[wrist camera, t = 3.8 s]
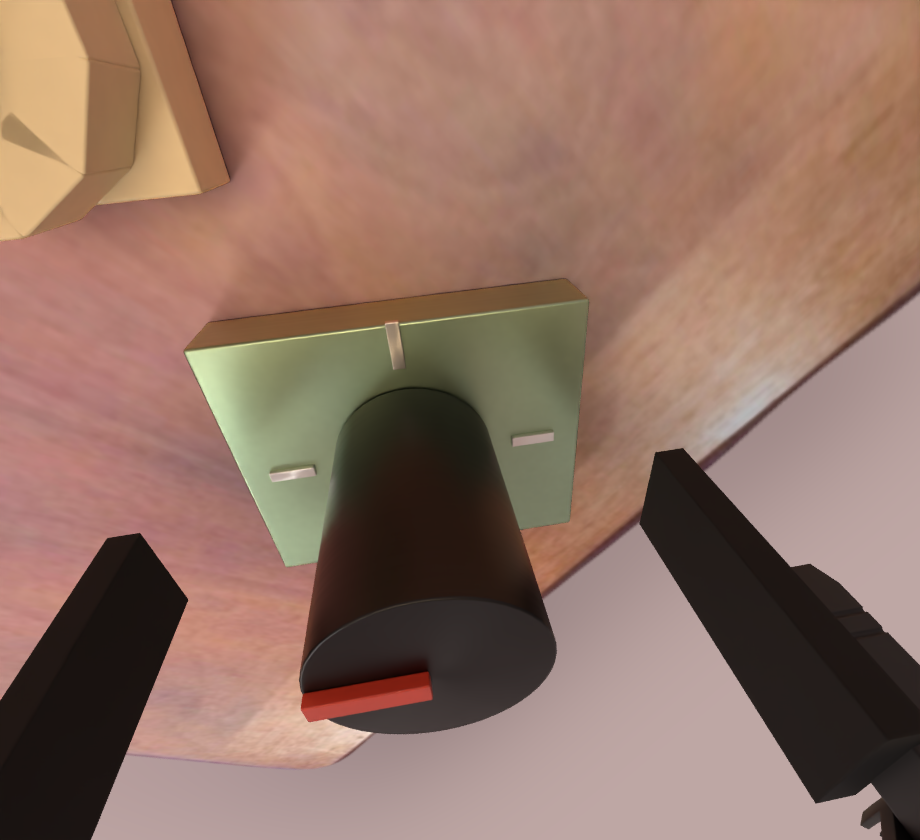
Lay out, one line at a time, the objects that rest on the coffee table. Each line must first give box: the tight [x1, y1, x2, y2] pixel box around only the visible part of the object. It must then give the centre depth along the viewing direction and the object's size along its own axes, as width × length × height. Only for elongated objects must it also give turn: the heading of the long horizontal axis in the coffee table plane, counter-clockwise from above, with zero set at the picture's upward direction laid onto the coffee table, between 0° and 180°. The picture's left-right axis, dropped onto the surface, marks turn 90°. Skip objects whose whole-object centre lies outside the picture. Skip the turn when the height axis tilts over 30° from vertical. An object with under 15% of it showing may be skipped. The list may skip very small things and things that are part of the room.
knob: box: [299, 389, 557, 734], centre depth 11 cm, size 5×5×7 cm
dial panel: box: [184, 279, 589, 567], centre depth 15 cm, size 11×9×2 cm
